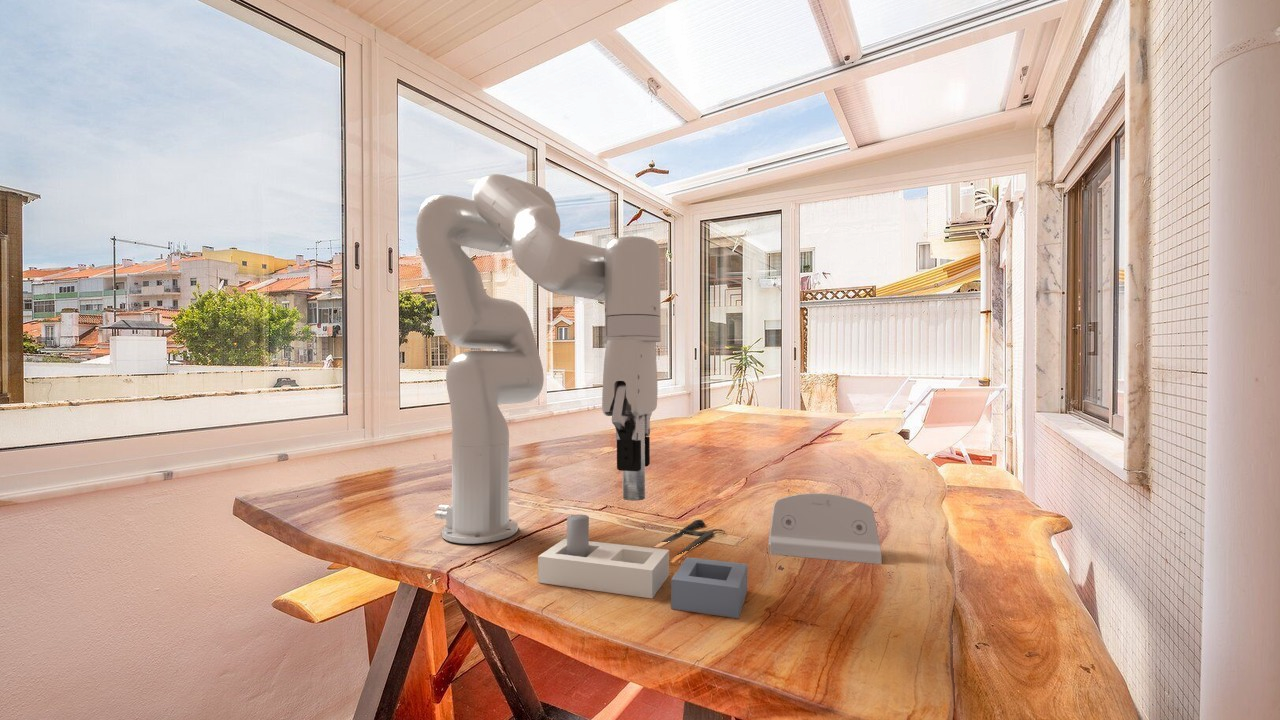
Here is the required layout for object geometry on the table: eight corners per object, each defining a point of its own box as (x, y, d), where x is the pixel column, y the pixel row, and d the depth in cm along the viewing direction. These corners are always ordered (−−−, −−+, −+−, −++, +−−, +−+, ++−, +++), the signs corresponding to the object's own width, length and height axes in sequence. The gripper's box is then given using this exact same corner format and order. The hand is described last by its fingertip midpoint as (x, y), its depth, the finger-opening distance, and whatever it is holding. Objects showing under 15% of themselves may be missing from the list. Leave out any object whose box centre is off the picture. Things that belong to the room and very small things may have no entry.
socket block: (671, 608, 65) (671, 579, 65) (686, 583, 73) (686, 557, 73) (738, 618, 63) (738, 587, 63) (747, 591, 70) (747, 563, 70)
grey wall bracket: (767, 554, 84) (768, 488, 88) (768, 554, 88) (769, 492, 92) (884, 564, 80) (880, 494, 83) (879, 564, 84) (876, 498, 87)
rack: (538, 582, 73) (538, 522, 73) (564, 562, 81) (564, 507, 81) (652, 598, 68) (652, 534, 68) (669, 575, 76) (669, 517, 76)
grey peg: (619, 499, 72) (619, 408, 72) (627, 494, 75) (626, 407, 75) (641, 501, 71) (640, 409, 71) (648, 496, 74) (647, 407, 74)
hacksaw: (696, 525, 101) (696, 517, 101) (749, 535, 95) (749, 526, 95) (621, 565, 81) (621, 554, 81) (682, 580, 75) (682, 569, 75)
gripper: (627, 335, 82) (627, 457, 82) (582, 327, 67) (582, 478, 66) (675, 334, 80) (676, 459, 80) (640, 325, 64) (641, 481, 64)
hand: (633, 466), depth 73 cm, fingers closed on grey peg, 3 cm apart
